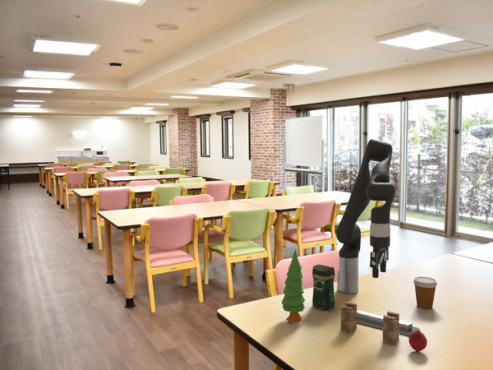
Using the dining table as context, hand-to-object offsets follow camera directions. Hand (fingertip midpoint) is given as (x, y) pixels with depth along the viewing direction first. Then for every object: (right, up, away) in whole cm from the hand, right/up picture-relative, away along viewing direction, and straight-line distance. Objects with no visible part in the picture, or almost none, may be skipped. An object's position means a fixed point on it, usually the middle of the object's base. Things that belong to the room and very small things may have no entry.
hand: (379, 274), depth 160 cm
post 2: (0, -21, -12) cm, 24 cm away
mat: (+1, -20, +2) cm, 20 cm away
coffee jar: (-18, -19, +20) cm, 33 cm away
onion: (+7, -22, -20) cm, 31 cm away
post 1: (-12, -21, -2) cm, 24 cm away
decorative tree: (-33, -20, +7) cm, 39 cm away
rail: (+1, -19, +2) cm, 19 cm away
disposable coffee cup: (+26, -18, +19) cm, 37 cm away
